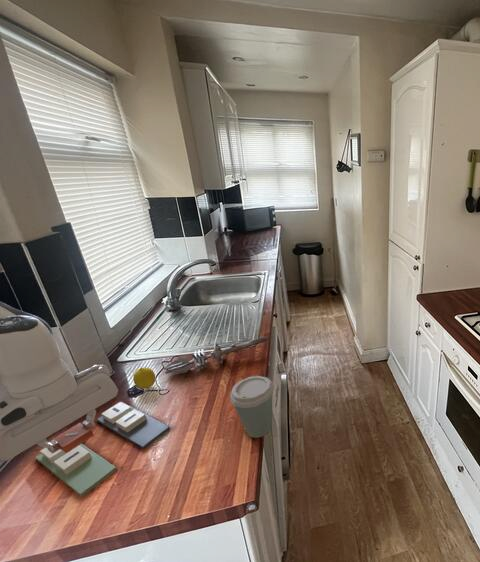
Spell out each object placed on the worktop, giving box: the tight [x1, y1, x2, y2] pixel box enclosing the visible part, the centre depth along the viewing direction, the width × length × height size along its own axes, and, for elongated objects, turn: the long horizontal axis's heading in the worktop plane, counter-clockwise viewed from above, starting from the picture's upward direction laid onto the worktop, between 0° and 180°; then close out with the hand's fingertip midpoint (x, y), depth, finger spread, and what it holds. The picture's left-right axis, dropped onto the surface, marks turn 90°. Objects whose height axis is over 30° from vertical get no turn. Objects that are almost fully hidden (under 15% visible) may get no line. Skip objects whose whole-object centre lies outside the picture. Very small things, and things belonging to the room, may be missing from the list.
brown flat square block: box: [51, 422, 95, 453], centre depth 68 cm, size 5×5×2 cm
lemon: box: [132, 366, 156, 390], centre depth 99 cm, size 6×6×8 cm
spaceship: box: [163, 336, 270, 375], centre depth 110 cm, size 8×35×8 cm
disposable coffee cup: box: [229, 375, 275, 439], centre depth 81 cm, size 11×11×15 cm
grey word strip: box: [96, 401, 171, 450], centre depth 86 cm, size 22×7×3 cm, turn 65°
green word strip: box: [34, 443, 118, 498], centre depth 75 cm, size 22×7×3 cm, turn 65°
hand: (73, 438), depth 68 cm, fingers closed on brown flat square block, 5 cm apart
